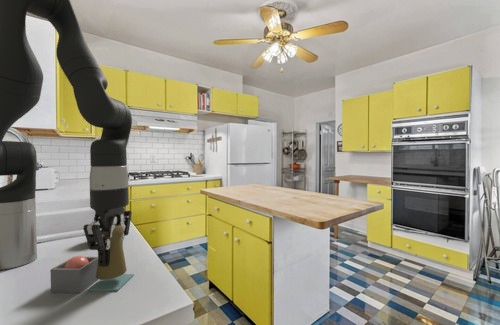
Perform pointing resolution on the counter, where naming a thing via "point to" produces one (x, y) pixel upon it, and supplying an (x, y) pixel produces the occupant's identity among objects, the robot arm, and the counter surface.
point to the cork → (113, 256)
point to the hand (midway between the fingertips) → (111, 260)
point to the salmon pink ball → (76, 262)
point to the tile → (111, 283)
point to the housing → (73, 277)
